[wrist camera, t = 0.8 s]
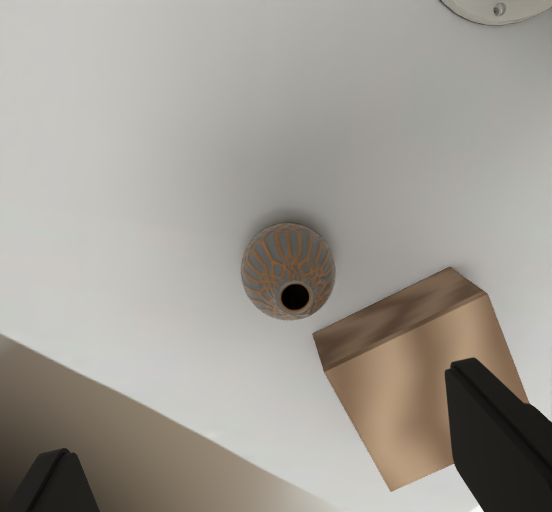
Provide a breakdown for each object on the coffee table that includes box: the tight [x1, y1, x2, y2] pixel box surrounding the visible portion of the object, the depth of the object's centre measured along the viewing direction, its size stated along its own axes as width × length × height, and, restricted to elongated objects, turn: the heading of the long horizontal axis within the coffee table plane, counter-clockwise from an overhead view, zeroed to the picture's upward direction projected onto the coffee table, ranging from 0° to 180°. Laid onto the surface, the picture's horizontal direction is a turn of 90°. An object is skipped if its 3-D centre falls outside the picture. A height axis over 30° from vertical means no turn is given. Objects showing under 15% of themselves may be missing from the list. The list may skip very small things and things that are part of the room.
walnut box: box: [313, 267, 530, 492], centre depth 36 cm, size 13×13×6 cm
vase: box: [241, 223, 335, 320], centre depth 31 cm, size 7×7×9 cm
